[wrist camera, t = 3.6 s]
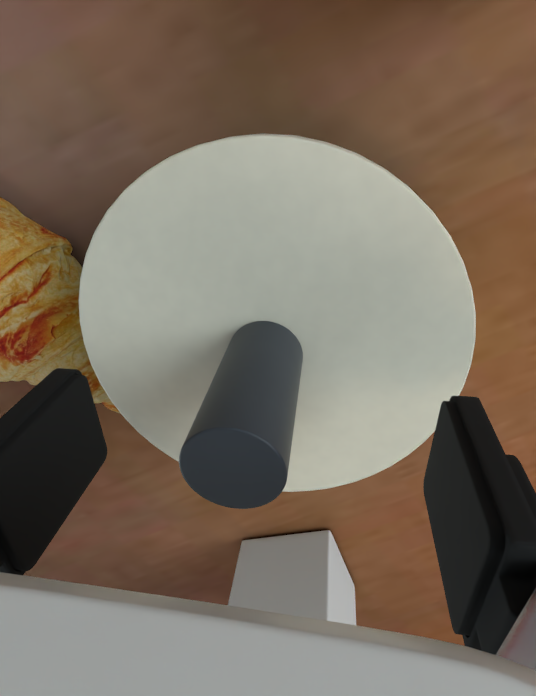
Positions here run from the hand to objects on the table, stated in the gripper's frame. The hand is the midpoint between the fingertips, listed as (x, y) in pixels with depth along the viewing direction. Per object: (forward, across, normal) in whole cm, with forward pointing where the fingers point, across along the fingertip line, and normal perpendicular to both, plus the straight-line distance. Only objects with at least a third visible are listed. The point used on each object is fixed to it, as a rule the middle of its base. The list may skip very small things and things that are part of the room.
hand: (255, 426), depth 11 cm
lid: (+5, 0, 0) cm, 5 cm away
